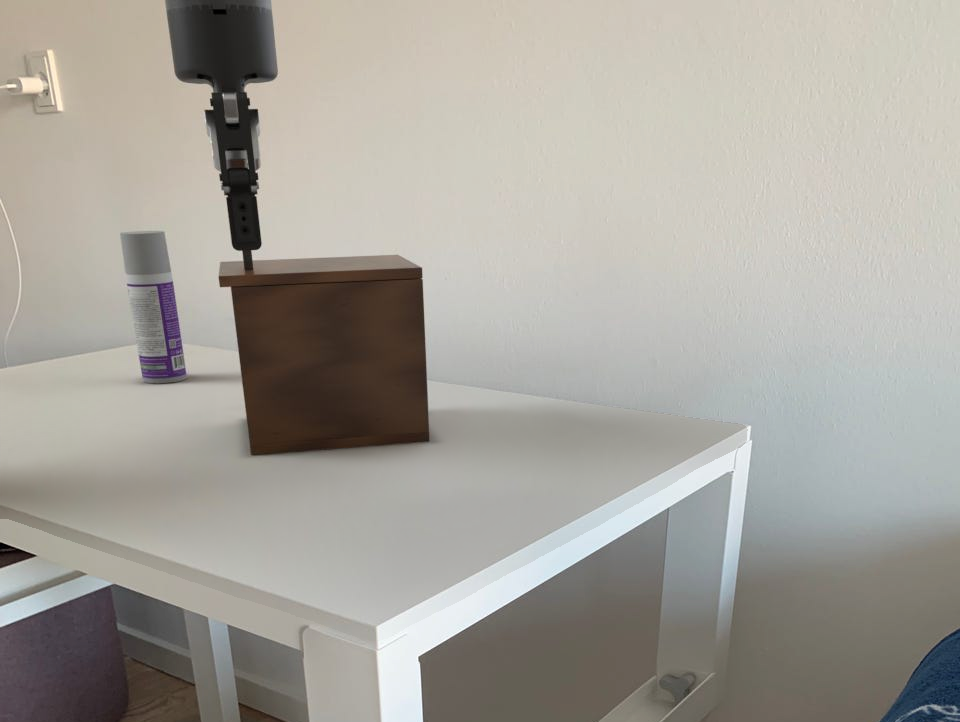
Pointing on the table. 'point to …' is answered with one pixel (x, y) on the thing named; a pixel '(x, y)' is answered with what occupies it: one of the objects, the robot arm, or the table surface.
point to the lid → (315, 270)
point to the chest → (332, 364)
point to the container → (153, 306)
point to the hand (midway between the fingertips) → (247, 246)
